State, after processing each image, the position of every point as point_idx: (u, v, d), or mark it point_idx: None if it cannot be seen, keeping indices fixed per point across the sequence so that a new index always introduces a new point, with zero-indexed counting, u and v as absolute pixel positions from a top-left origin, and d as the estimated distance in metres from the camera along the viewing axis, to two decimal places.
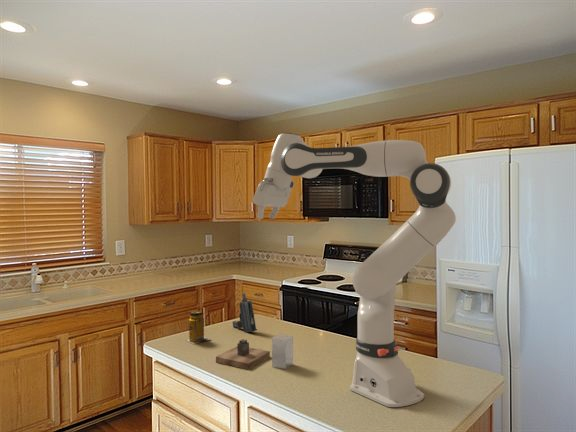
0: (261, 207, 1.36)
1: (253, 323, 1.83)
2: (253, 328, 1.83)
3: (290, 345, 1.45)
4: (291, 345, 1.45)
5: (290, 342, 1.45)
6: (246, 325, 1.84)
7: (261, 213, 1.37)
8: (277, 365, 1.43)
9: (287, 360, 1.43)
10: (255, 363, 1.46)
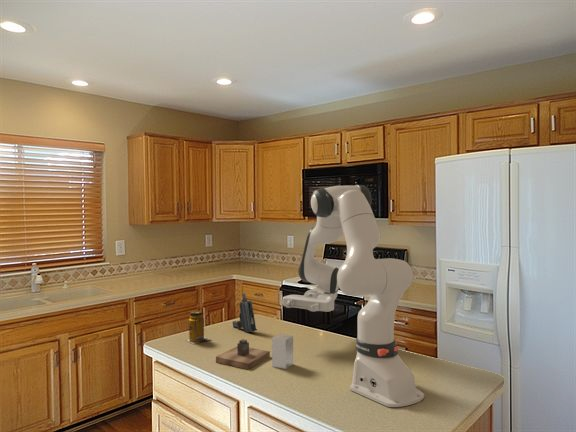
0: None
1: (253, 323, 1.83)
2: (253, 328, 1.83)
3: (290, 345, 1.45)
4: (291, 345, 1.45)
5: (290, 342, 1.45)
6: (246, 325, 1.84)
7: None
8: (277, 365, 1.43)
9: (287, 360, 1.43)
10: (255, 363, 1.46)
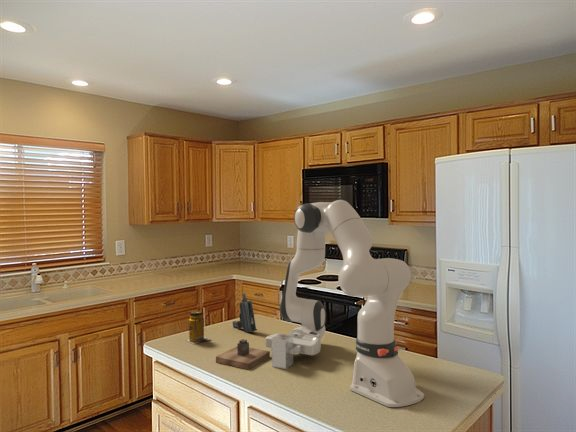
0: None
1: (253, 323, 1.83)
2: (253, 328, 1.83)
3: (290, 345, 1.45)
4: (291, 345, 1.45)
5: (290, 342, 1.45)
6: (246, 325, 1.84)
7: None
8: (277, 365, 1.43)
9: (287, 360, 1.43)
10: (255, 363, 1.46)
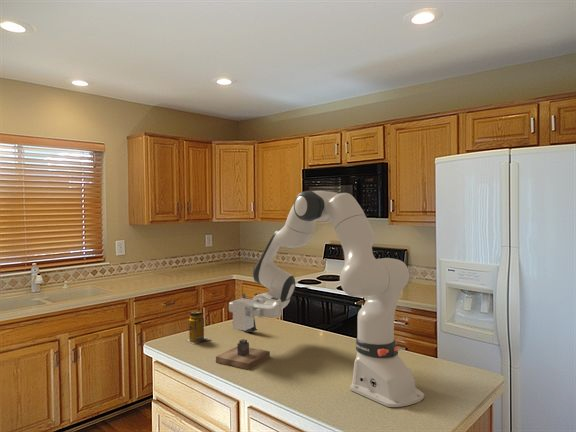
0: None
1: None
2: (253, 328, 1.83)
3: (250, 308, 1.50)
4: (251, 308, 1.51)
5: (250, 306, 1.50)
6: None
7: None
8: (237, 327, 1.49)
9: (247, 322, 1.49)
10: (255, 363, 1.46)
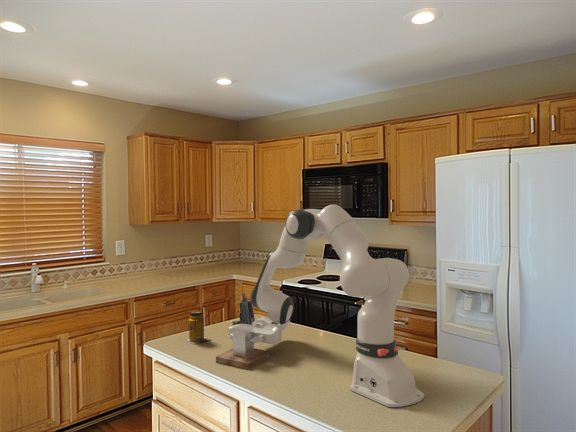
0: None
1: None
2: None
3: (250, 334, 1.51)
4: (251, 334, 1.51)
5: (250, 332, 1.50)
6: None
7: (232, 334, 1.55)
8: (237, 353, 1.49)
9: (247, 349, 1.49)
10: (255, 363, 1.46)
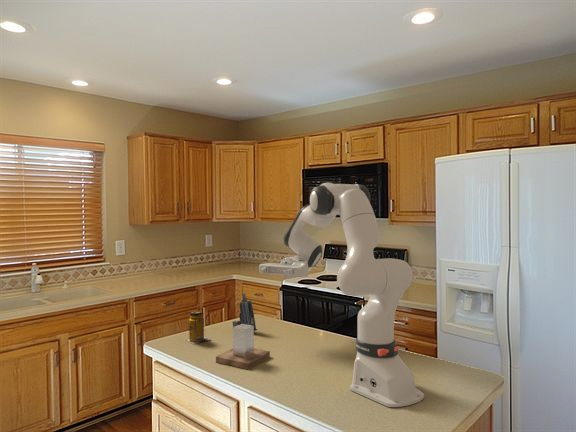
0: None
1: (253, 323, 1.83)
2: None
3: (250, 334, 1.51)
4: (251, 334, 1.51)
5: (250, 332, 1.50)
6: None
7: (263, 269, 1.68)
8: (237, 353, 1.49)
9: (247, 349, 1.49)
10: (255, 363, 1.46)
